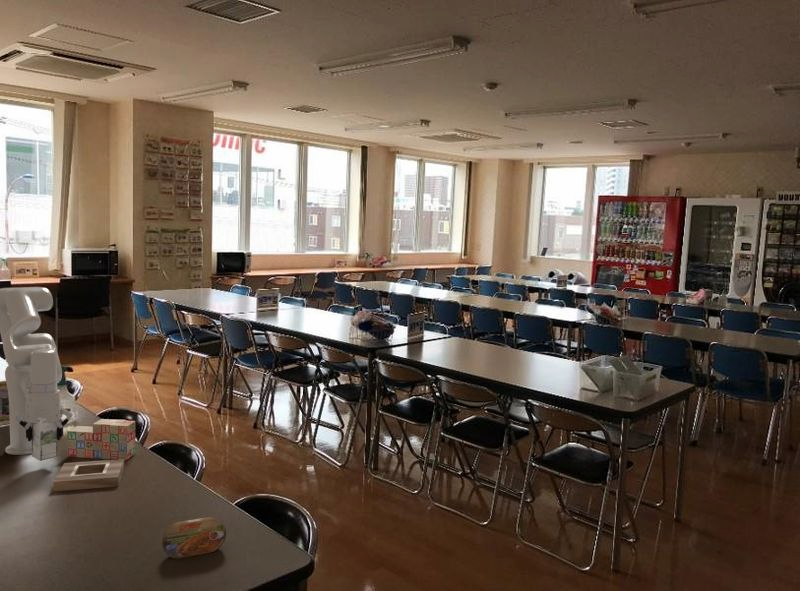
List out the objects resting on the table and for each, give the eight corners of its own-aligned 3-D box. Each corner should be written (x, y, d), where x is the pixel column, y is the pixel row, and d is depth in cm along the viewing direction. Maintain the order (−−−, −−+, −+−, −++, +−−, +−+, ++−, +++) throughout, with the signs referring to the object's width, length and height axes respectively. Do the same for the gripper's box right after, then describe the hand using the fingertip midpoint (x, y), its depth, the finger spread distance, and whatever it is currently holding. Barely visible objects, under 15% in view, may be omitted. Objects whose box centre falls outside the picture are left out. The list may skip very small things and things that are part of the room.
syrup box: (49, 452, 217) (48, 410, 215) (58, 456, 214) (57, 414, 212) (31, 456, 212) (30, 414, 210) (40, 461, 209) (39, 418, 207)
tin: (162, 561, 157) (162, 527, 156) (161, 555, 160) (161, 522, 159) (226, 550, 163) (226, 518, 162) (224, 544, 166) (224, 513, 165)
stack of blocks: (67, 457, 224) (66, 422, 223) (77, 451, 230) (76, 417, 229) (127, 460, 223) (126, 425, 221) (136, 454, 229) (135, 420, 228)
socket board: (64, 472, 210) (64, 462, 210) (124, 467, 216) (124, 458, 215) (53, 491, 195) (53, 481, 195) (118, 486, 200) (118, 476, 200)
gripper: (10, 391, 204) (11, 444, 206) (71, 389, 209) (72, 442, 211) (16, 384, 211) (17, 436, 213) (75, 383, 216) (76, 434, 218)
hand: (44, 439), depth 212 cm, fingers closed on syrup box, 8 cm apart
